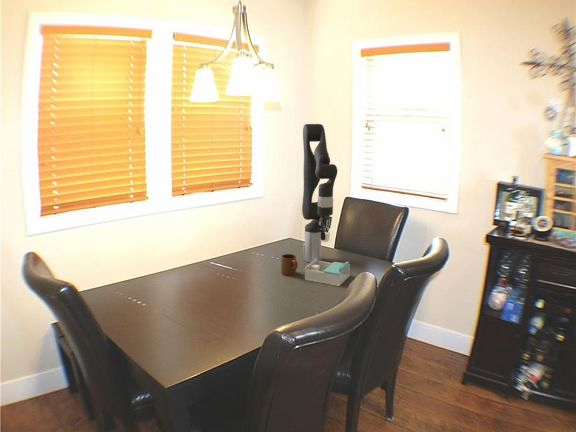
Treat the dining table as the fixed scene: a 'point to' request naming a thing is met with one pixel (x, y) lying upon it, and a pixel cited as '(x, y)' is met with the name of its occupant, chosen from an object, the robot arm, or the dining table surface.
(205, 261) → the dining table surface
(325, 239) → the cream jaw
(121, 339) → the dining table surface
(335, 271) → the teal lid
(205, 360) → the dining table surface
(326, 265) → the grey housing
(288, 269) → the mug
